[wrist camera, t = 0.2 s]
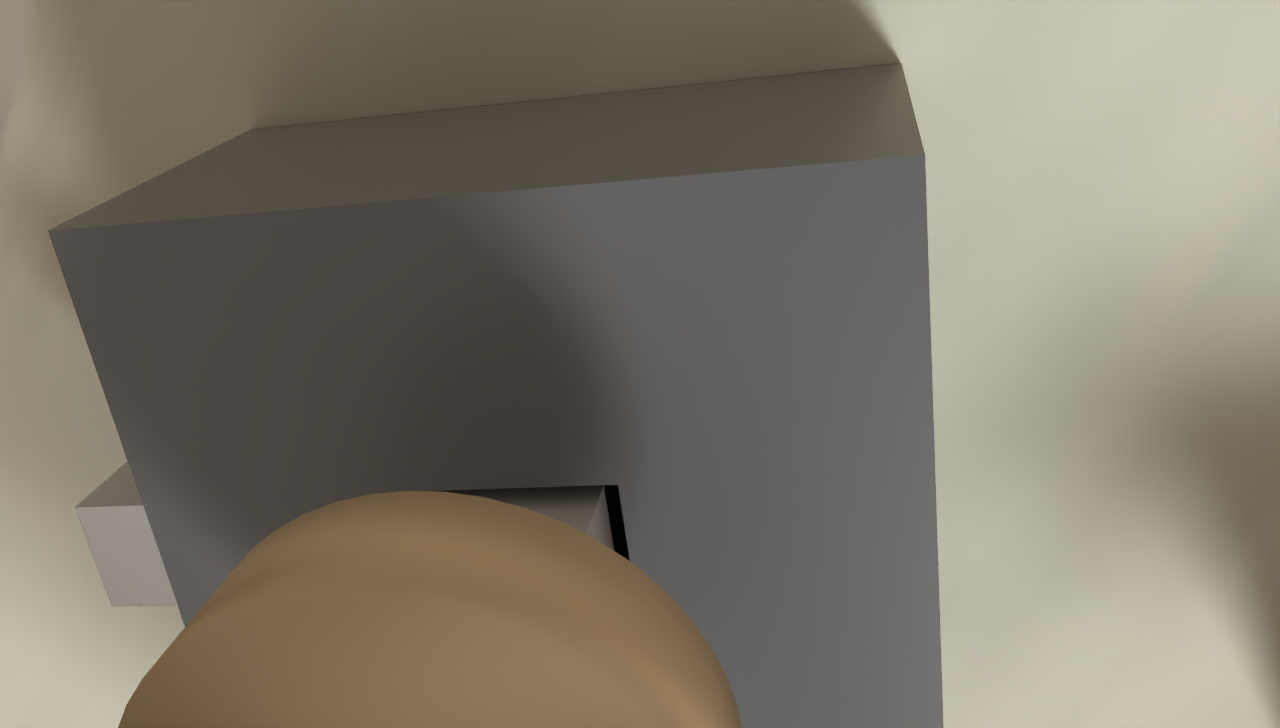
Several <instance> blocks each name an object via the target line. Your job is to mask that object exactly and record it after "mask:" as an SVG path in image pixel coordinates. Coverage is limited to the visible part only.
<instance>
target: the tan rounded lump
mask: <svg viewBox="0 0 1280 728" xmlns="http://www.w3.org/2000/svg"><path fill="white" fill-rule="evenodd" d="M118 728H742V727H741V722H740V717H739V712H738V707H737V704H736V701H735V698H734V696H733V693H732V690H731V687H730V685H729V682H728V679H727V677H726V674H725V672H724V670H723V669H722V667H721V665H720V663H719V661H718V659H717V658H716V656H715V654H714V652H713V650H712V648H711V647H710V645H709V643H708V642H707V640H706V639H705V638H704V636H703V635H702V634H701V632H700V631H699V630H698V628H697V627H696V625H695V624H694V623H693V621H692V620H691V619H690V617H689V616H688V615H687V614H686V613H685V611H684V610H683V609H682V608H681V607H680V606H679V605H678V604H677V603H676V602H675V601H674V600H673V599H672V598H671V597H670V596H669V595H668V593H667V592H666V591H665V590H664V589H663V588H662V587H661V586H659V585H658V584H657V583H656V582H655V581H653V580H652V579H651V578H650V577H649V576H647V575H646V574H645V573H644V572H643V571H641V570H640V569H639V568H638V567H637V566H635V565H634V564H633V563H632V562H630V561H629V560H627V559H626V558H624V557H623V556H621V555H620V554H618V553H617V552H615V551H614V545H613V539H612V533H611V527H610V521H609V515H608V509H607V502H606V496H605V490H604V485H594V486H565V487H535V488H506V489H477V490H452V492H451V493H450V492H435V491H399V492H388V493H378V494H369V495H364V496H360V497H356V498H351V499H347V500H343V501H338V502H334V503H332V504H329V505H326V506H324V507H321V508H318V509H316V510H313V511H311V512H308V513H305V514H303V515H301V516H299V517H298V518H296V519H294V520H292V521H291V522H289V523H287V524H285V525H283V526H282V527H280V528H278V529H276V530H275V531H274V532H272V533H271V534H270V535H269V536H267V537H266V538H265V539H263V540H262V541H261V542H260V543H258V544H257V545H256V546H255V547H253V548H252V549H251V550H250V551H249V552H248V554H247V555H246V556H245V557H244V558H243V559H242V560H241V561H240V562H239V564H238V565H237V566H236V567H235V568H234V569H233V570H232V571H231V573H230V574H229V575H228V576H227V578H226V579H225V580H224V581H223V582H222V584H221V585H220V586H219V587H218V588H217V590H216V591H215V592H214V593H213V594H212V596H211V597H210V598H209V599H208V600H207V602H206V603H205V604H204V605H203V606H202V608H201V609H200V610H199V611H198V613H197V614H196V615H195V616H194V617H193V619H192V620H191V621H190V622H189V623H188V625H187V626H186V627H185V628H184V629H183V631H182V632H181V633H180V634H179V635H178V637H177V638H176V639H175V640H174V641H173V643H172V644H171V645H170V646H169V647H168V649H167V650H166V651H165V652H164V654H163V655H162V656H161V657H160V658H159V660H158V661H157V662H156V663H155V664H154V666H153V667H152V668H151V669H150V670H149V672H148V673H147V674H146V675H145V676H144V678H143V679H142V680H141V682H140V684H139V685H138V687H137V689H136V690H135V692H134V694H133V695H132V697H131V699H130V700H129V702H128V703H127V705H126V708H125V711H124V713H123V716H122V719H121V722H120V724H119V727H118Z"/></svg>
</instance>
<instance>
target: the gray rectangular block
mask: <svg viewBox="0 0 1280 728" xmlns="http://www.w3.org/2000/svg"><path fill="white" fill-rule="evenodd" d="M48 232H49V235H50V237H51V240H52V243H53V246H54V249H55V252H56V255H57V258H58V261H59V263H60V266H61V269H62V272H63V275H64V278H65V281H66V284H67V287H68V289H69V292H70V295H71V298H72V301H73V304H74V307H75V310H76V313H77V315H78V318H79V321H80V324H81V327H82V330H83V333H84V336H85V339H86V341H87V344H88V347H89V350H90V353H91V356H92V359H93V362H94V365H95V367H96V370H97V373H98V376H99V379H100V382H101V385H102V388H103V391H104V393H105V396H106V399H107V402H108V405H109V408H110V411H111V414H112V417H113V419H114V422H115V425H116V428H117V431H118V434H119V437H120V440H121V443H122V445H123V448H124V451H125V454H126V457H127V460H128V462H126V463H125V464H124V465H123V466H122V467H121V468H120V469H118V470H117V471H116V472H115V473H114V474H113V475H112V476H110V477H109V478H108V479H107V480H106V481H105V482H104V483H102V484H101V485H100V486H99V487H98V488H97V489H96V490H95V491H93V492H92V493H91V494H90V495H89V496H88V497H87V498H85V499H84V500H83V501H82V502H81V503H80V504H79V505H77V506H76V507H75V509H76V512H77V514H78V517H79V520H80V522H81V525H82V528H83V530H84V533H85V536H86V538H87V541H88V544H89V546H90V549H91V552H92V554H93V557H94V560H95V562H96V565H97V568H98V570H99V573H100V576H101V578H102V581H103V584H104V587H105V589H106V592H107V595H108V597H109V600H110V603H111V605H112V606H150V605H178V607H179V610H180V613H181V616H182V619H183V622H184V625H185V627H186V626H187V625H188V623H189V622H190V621H191V620H192V619H193V617H194V616H195V615H196V614H197V613H198V611H199V610H200V609H201V608H202V606H203V605H204V604H205V603H206V602H207V600H208V599H209V598H210V597H211V596H212V594H213V593H214V592H215V591H216V590H217V588H218V587H219V586H220V585H221V584H222V582H223V581H224V580H225V579H226V578H227V576H228V575H229V574H230V573H231V571H232V570H233V569H234V568H235V567H236V566H237V565H238V564H239V562H240V561H241V560H242V559H243V558H244V557H245V556H246V555H247V554H248V552H249V551H250V550H251V549H252V548H253V547H255V546H256V545H257V544H258V543H260V542H261V541H262V540H263V539H265V538H266V537H267V536H269V535H270V534H271V533H272V532H274V531H275V530H276V529H278V528H280V527H282V526H283V525H285V524H287V523H289V522H291V521H292V520H294V519H296V518H298V517H299V516H301V515H303V514H305V513H308V512H311V511H313V510H316V509H318V508H321V507H324V506H326V505H329V504H332V503H334V502H338V501H343V500H347V499H351V498H356V497H360V496H364V495H369V494H378V493H388V492H399V491H435V492H450V493H451V492H452V490H477V489H506V488H535V487H565V486H594V485H604V490H605V496H606V502H607V509H608V515H609V521H610V527H611V533H612V539H613V545H614V551H615V552H617V553H618V554H620V555H621V556H623V557H624V558H626V559H627V560H629V561H630V562H632V563H633V564H634V565H635V566H637V567H638V568H639V569H640V570H641V571H643V572H644V573H645V574H646V575H647V576H649V577H650V578H651V579H652V580H653V581H655V582H656V583H657V584H658V585H659V586H661V587H662V588H663V589H664V590H665V591H666V592H667V593H668V595H669V596H670V597H671V598H672V599H673V600H674V601H675V602H676V603H677V604H678V605H679V606H680V607H681V608H682V609H683V610H684V611H685V613H686V614H687V615H688V616H689V617H690V619H691V620H692V621H693V623H694V624H695V625H696V627H697V628H698V630H699V631H700V632H701V634H702V635H703V636H704V638H705V639H706V640H707V642H708V643H709V645H710V647H711V648H712V650H713V652H714V654H715V656H716V658H717V659H718V661H719V663H720V665H721V667H722V669H723V670H724V672H725V674H726V677H727V679H728V682H729V685H730V687H731V690H732V693H733V696H734V698H735V701H736V704H737V707H738V712H739V717H740V722H741V727H742V728H943V702H942V671H941V640H940V609H939V578H938V547H937V516H936V485H935V454H934V423H933V392H932V361H931V330H930V299H929V268H928V237H927V206H926V175H925V153H924V150H923V146H922V142H921V138H920V134H919V130H918V126H917V122H916V118H915V114H914V111H913V107H912V103H911V99H910V95H909V91H908V87H907V83H906V79H905V76H904V72H903V68H902V64H901V63H899V64H889V65H879V66H869V67H860V68H850V69H840V70H830V71H820V72H811V73H801V74H791V75H781V76H771V77H762V78H752V79H742V80H732V81H723V82H713V83H703V84H693V85H683V86H674V87H664V88H654V89H644V90H634V91H625V92H615V93H605V94H595V95H586V96H576V97H566V98H556V99H546V100H537V101H527V102H517V103H507V104H498V105H488V106H478V107H468V108H458V109H449V110H439V111H429V112H419V113H409V114H400V115H390V116H380V117H370V118H361V119H351V120H341V121H331V122H321V123H312V124H302V125H292V126H282V127H273V128H263V129H253V130H249V131H247V132H245V133H243V134H241V135H239V136H237V137H235V138H233V139H231V140H229V141H227V142H225V143H223V144H221V145H219V146H217V147H215V148H213V149H211V150H209V151H207V152H205V153H203V154H201V155H199V156H197V157H195V158H193V159H191V160H189V161H187V162H185V163H183V164H181V165H179V166H177V167H175V168H173V169H171V170H169V171H167V172H165V173H163V174H161V175H159V176H157V177H155V178H153V179H151V180H149V181H147V182H145V183H143V184H141V185H139V186H137V187H135V188H133V189H131V190H129V191H127V192H125V193H123V194H121V195H119V196H117V197H115V198H113V199H111V200H109V201H107V202H105V203H103V204H101V205H99V206H97V207H95V208H93V209H91V210H89V211H87V212H85V213H83V214H81V215H79V216H77V217H75V218H73V219H71V220H69V221H67V222H65V223H63V224H61V225H59V226H57V227H55V228H53V229H51V230H49V231H48Z"/></svg>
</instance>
